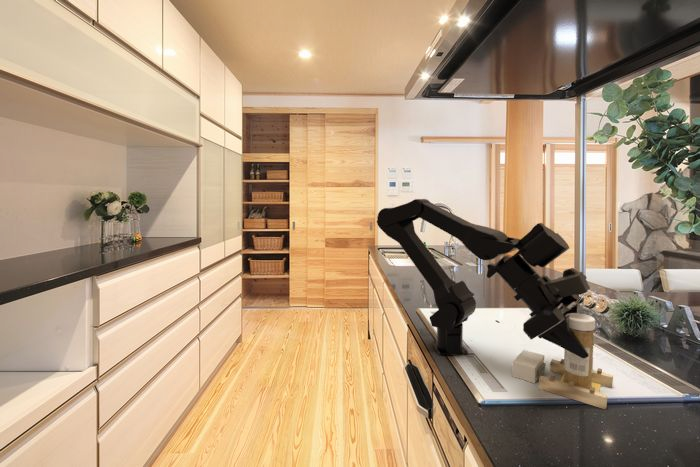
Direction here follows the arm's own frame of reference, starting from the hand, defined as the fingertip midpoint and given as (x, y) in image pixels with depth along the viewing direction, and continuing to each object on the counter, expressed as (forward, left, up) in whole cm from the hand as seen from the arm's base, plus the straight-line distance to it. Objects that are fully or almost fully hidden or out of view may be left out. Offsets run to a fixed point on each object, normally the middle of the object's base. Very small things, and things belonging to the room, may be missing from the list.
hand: (589, 351), depth 62 cm
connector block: (-7, -7, -7) cm, 12 cm away
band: (-1, -1, -7) cm, 7 cm away
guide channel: (-1, -1, -7) cm, 7 cm away
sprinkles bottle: (-1, -1, -7) cm, 8 cm away
